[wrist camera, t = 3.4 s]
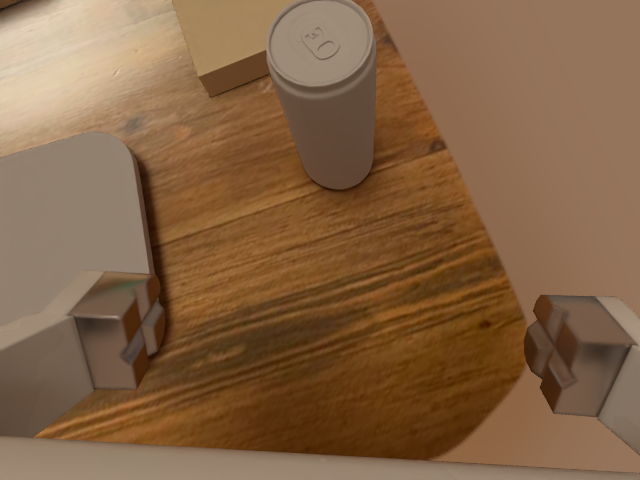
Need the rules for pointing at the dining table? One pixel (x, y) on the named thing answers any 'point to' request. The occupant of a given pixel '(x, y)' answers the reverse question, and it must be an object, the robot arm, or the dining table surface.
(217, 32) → the closed book
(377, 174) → the dining table surface
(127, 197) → the grey flat rounded rectangle
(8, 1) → the block tower
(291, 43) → the beverage can
